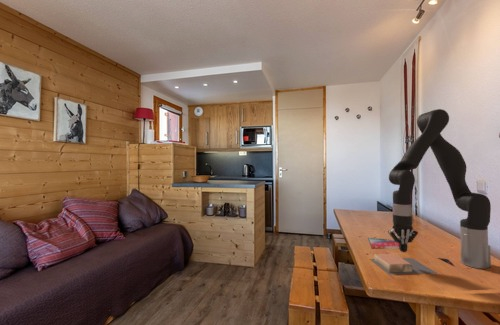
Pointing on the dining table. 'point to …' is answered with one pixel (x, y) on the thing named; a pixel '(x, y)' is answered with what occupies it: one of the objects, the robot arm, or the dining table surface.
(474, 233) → the robot arm
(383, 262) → the tile
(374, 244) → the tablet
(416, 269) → the mat
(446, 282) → the dining table surface
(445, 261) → the cell phone
